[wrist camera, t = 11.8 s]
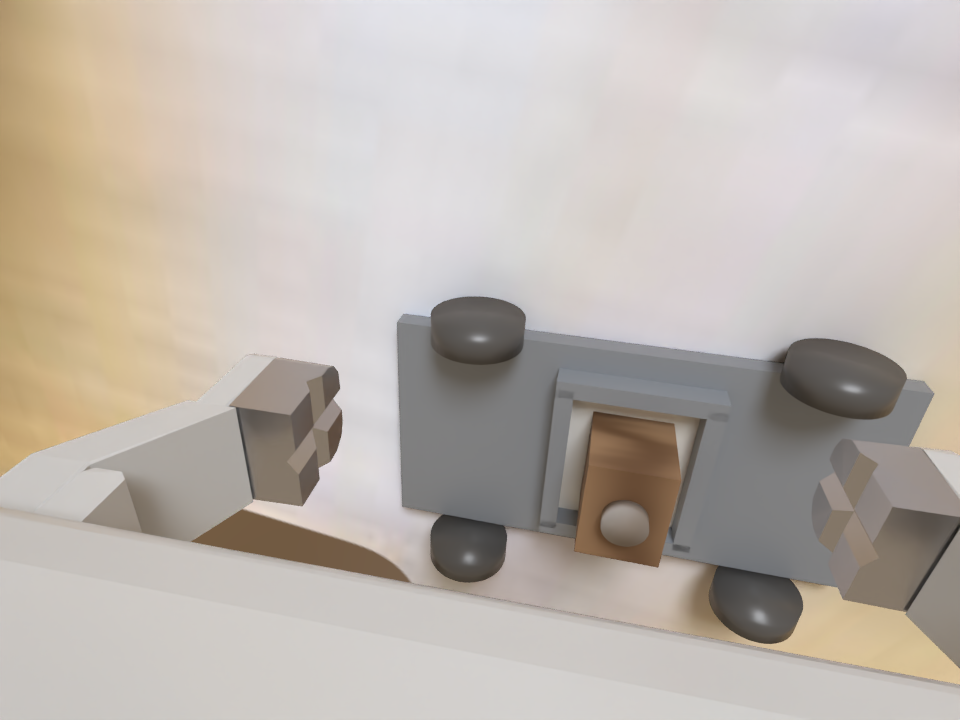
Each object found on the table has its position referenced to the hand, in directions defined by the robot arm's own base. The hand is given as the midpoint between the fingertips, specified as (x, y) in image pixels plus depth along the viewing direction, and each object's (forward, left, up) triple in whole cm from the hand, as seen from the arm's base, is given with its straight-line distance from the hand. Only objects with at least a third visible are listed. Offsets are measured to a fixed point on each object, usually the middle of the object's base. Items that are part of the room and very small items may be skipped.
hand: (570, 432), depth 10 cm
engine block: (+3, -16, -21) cm, 27 cm away
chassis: (+3, -16, -22) cm, 28 cm away
